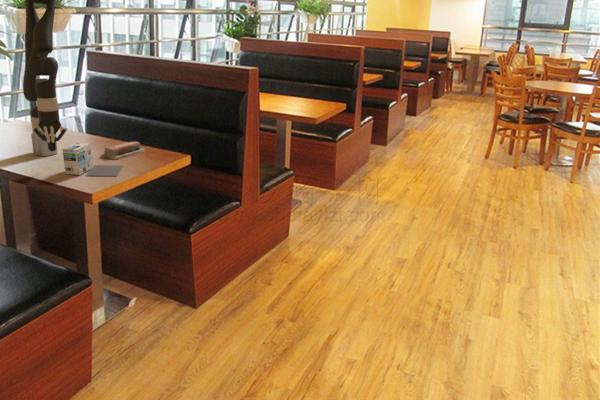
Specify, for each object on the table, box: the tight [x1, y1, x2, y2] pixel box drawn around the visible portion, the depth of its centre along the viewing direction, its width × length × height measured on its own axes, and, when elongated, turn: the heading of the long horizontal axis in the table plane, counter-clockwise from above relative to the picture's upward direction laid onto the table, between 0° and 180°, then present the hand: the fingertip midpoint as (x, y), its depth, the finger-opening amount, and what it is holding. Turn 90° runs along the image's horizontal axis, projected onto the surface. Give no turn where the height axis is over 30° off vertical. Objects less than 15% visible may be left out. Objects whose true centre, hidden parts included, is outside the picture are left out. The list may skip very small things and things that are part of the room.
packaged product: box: [101, 141, 146, 160], centre depth 258 cm, size 18×5×10 cm
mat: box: [85, 164, 124, 177], centre depth 234 cm, size 12×14×1 cm
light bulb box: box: [61, 142, 94, 176], centre depth 230 cm, size 11×7×11 cm, turn 168°
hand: (52, 150), depth 228 cm, fingers closed
